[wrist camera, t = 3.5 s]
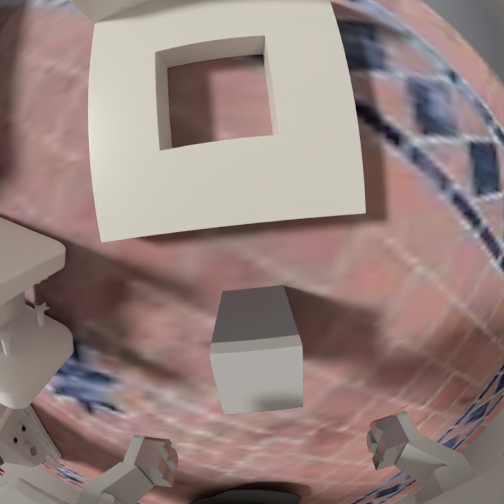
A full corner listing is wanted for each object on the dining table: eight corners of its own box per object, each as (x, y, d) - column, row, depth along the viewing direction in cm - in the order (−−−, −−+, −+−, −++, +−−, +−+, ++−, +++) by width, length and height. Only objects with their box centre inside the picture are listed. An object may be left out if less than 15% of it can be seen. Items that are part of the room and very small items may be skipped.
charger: (286, 336, 21) (302, 406, 14) (230, 341, 21) (223, 413, 14) (283, 285, 20) (302, 345, 12) (222, 291, 20) (209, 353, 13)
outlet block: (349, 208, 19) (397, 223, 12) (120, 233, 19) (68, 258, 12) (313, -4, 14) (334, -54, 7) (112, 25, 14) (74, -12, 8)
